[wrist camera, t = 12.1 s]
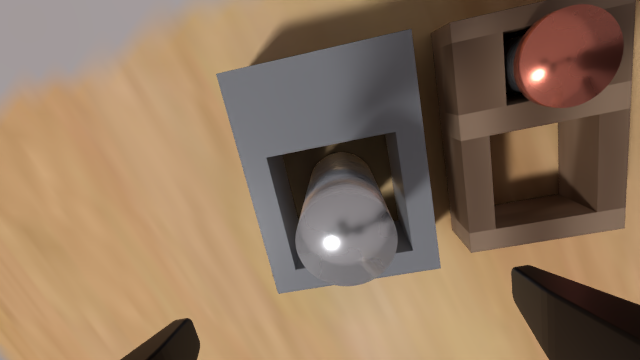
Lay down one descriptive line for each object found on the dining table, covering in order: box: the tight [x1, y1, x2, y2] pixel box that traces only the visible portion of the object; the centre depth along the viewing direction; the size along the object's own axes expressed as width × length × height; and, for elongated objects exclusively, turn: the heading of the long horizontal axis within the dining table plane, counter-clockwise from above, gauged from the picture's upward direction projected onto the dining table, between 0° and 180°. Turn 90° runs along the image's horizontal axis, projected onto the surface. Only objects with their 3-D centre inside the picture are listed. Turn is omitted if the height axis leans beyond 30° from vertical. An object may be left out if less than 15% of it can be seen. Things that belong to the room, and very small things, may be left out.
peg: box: [295, 152, 398, 286], centre depth 16 cm, size 4×4×8 cm
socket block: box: [431, 0, 636, 253], centre depth 17 cm, size 8×12×3 cm, turn 12°
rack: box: [216, 29, 441, 294], centre depth 18 cm, size 9×12×4 cm
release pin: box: [503, 4, 624, 108], centre depth 15 cm, size 4×4×4 cm
